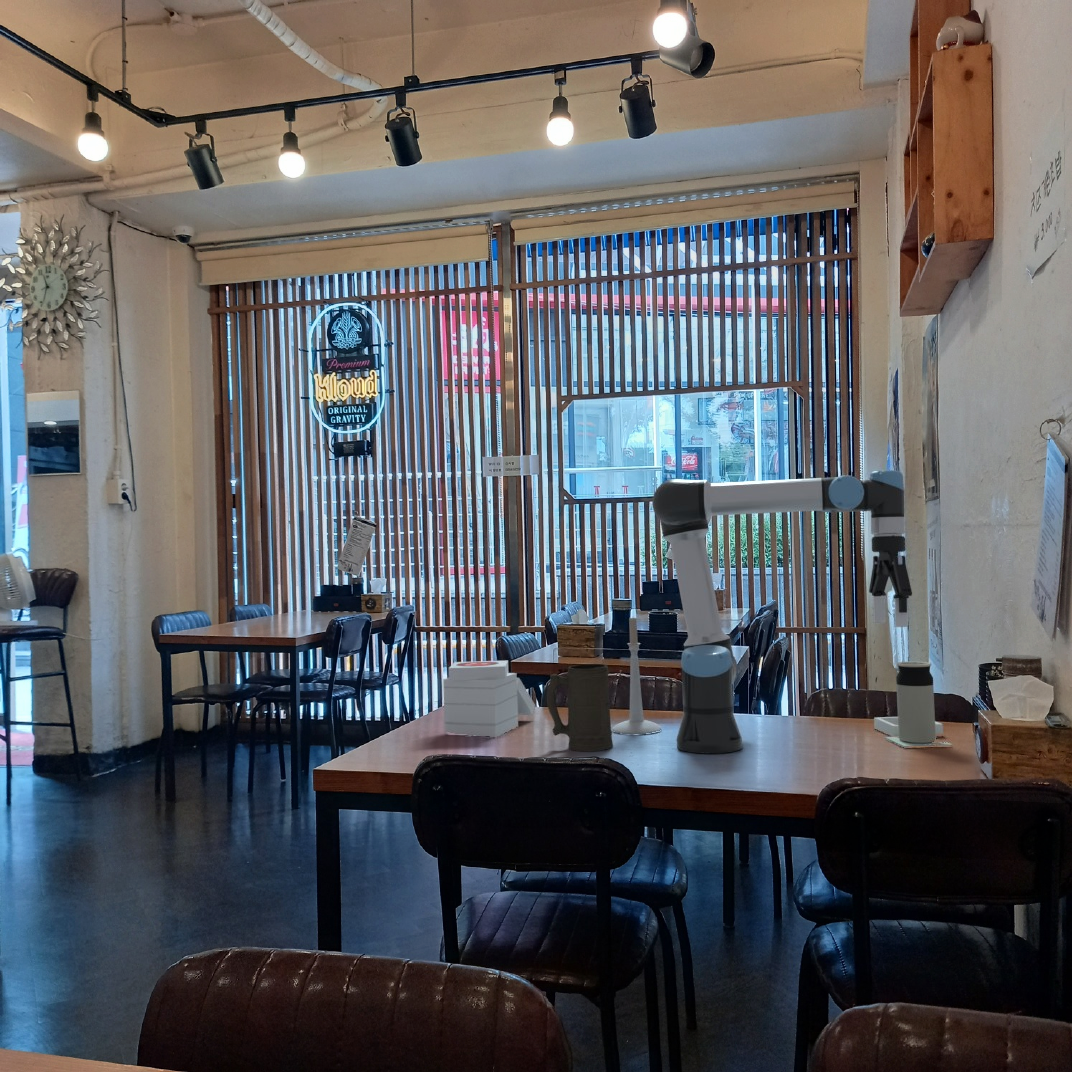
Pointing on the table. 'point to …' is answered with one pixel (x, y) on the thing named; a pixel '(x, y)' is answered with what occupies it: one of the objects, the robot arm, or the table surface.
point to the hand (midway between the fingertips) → (890, 624)
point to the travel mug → (915, 703)
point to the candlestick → (635, 693)
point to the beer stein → (583, 707)
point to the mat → (906, 744)
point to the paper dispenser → (484, 699)
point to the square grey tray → (891, 725)
